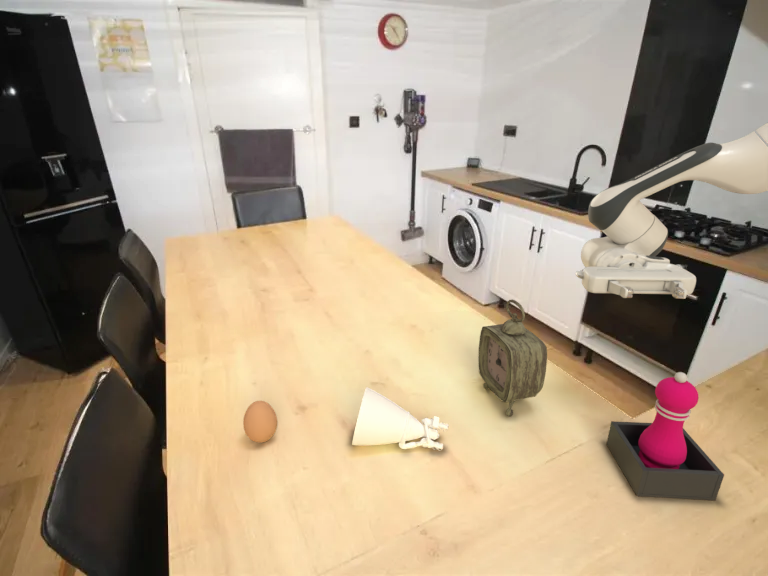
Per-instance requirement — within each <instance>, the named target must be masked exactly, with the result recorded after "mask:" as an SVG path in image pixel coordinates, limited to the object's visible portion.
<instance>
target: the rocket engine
mask: <svg viewBox="0 0 768 576" xmlns="http://www.w3.org/2000/svg"><path fill="white" fill-rule="evenodd" d="M420 421H421V422H420ZM437 429H438V430H437ZM439 430H442V431H443V432H446V431H448V430H449V423H446V422H443V421H440V417H439V416H436V415H434V416H433V417H432V418H429V417H424V418H421V420H419V419H418V418H416V417H415V416H414V415H413V414H411V412H410V411H409V410H406V409H405V408H403V407H401V406H400V405H398V404H397V403H396V402H394V401H393V400H391V399H390V398H388V397H386V396H385V395H383V394H381V393H379V392H378V391H377V390H374V389H372V388H370V387H368V386H366V387H365V389H364V392H363V395H362V399H361V403H360V407H359V411H358V415H357V420H356V423H355V427H354V432H353V436H352V441H351V445H352V446H360V447H361V446H382V445H391V444H397V443H398V447H399V448H400V449H402V450H409V449H414V448H416V447H423V448H428V449H433V451H435V450H438V452H440V451H443V449H444V443H443V442H442V443H440V441H435V440H437V439H439V438H440V433H439ZM420 438H421V439H420ZM418 439H420V441H414V440H418ZM408 441H410V442H408ZM406 442H407V443H406Z"/></svg>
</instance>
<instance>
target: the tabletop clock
mask: <svg viewBox="0 0 768 576" xmlns="http://www.w3.org/2000/svg"><path fill="white" fill-rule="evenodd" d="M510 303H512V304H514V305H516V306H517V307H518V308H519V310H520V312H521V315H522V318H518V313H516V312H513V313H512V312H511V311H510V308H509V304H510ZM505 308H506V309H505V310H506V312H507V314H508V315H509V317H510V318H509V319H507V320H505V322H504V323H500V324H499V323H498V324H492V325H485V326H482V327H481V330H480V334H479V342H478V358H477V359H478V373H479V375H480V377H481V379H482V381H483V382H484V383H483V384H482V386H483V389H485V390H488V389H489V390H490V391H491V392H492V393H493V394H494V395H495V396H496V397H497V398H498V399H499V400H500V401H502V402H504V403H507V402H509V406H508V408H507V409H505V415H506V416H508V417H512V416H513V415H514V410H513V405H514V402H515V401H519V400H525V399H530V398H534V397H537V395H538V394H539V393H540V392H541V391H542V389H543V387H544V384H545V379H546V374H547V373H546V372H547V364H548V347H547V345H546V343H545V342H544V341H543V340H542V339H541V338H540V337H539V336H537V335H536V334H534V332H532V331H530V330H529V329H527V328H526V327H525V324H524V323H523V322H524V321H525V318H526V313H525V309H524V307H523V306H522V305H521V303H520V302H518V301H517V300H515V299H509V300H507V301H506V304H505Z"/></svg>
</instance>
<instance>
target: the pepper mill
mask: <svg viewBox="0 0 768 576" xmlns="http://www.w3.org/2000/svg"><path fill="white" fill-rule="evenodd" d="M654 394H655V396H656V400H655V404H654V409H655V411H656V413H655V414H656V415H655V417H654V420H653V421H652V422H651V423H652V424H651V425H650V426H649V427H647V428H646V429H645V430H644V431H643V433H642V434H641V435H640V438H639V441H638V445H639V448H640V451H639V454H638V456H639V458H640V459H641V461H642V462H643V464H644V465H645V467H646V468H665V469H679V465H680V464H682V463H683V462H684V461H685V459H686V455H687V447H686V442H685V439H684V435H683V429H684V423H685V421H687V420H689V419H690V417H691V416H690V415H691V413H692V409H694V408H695V407H696V406H697V405H698V402H699V398H700V397H699V392H698V389H697V388H696V387H695V385H693V384H692V383H691V382H690V381H688V375H687V374H686V373H685V372H682V371H678V372H676V373H675V374H674V375H673V376H668V377H665V378H662V379H661V380H659V382H658V383H657V384H656V387H655V389H654Z"/></svg>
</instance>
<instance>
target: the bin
mask: <svg viewBox="0 0 768 576" xmlns="http://www.w3.org/2000/svg"><path fill="white" fill-rule="evenodd" d="M652 423H653V422H635V421H634V422H633V421H615V420H614V421H610V425H609V430H608V435H607V439H606V446H607V448H608V450H609V452H610V453H611V455H612V456H613V458H614V460H615V461H616V463H617V465H618V467H619V469H620V470H621V473H623V475H624V477H625V479H626V480H627V483H628V484H629V485H630V488H631V489H632V491H633V493H634V494H635V495H636V497H645V498H646V497H647V498H662V499H679V500H680V499H682V500H696V501H697V500H698V501H699V500H700V501H717V497H718V494H719V492H720V488H721V487H722V483H723V479H724V477H725V474H724V472H722V470H721V469H720V468H719V467H718V466H717V464H715V462H714V461H713V460H712V459H711V458H710V456H708V455H707V453H706V452H705V451H704V450H703V449H702V448H701V447H700V446H699V445H698V443H697V442H696V441H695V440H694V439H693V438H692V436H691V435H690V434H689V433H688V432H687V431H686V429H684V428H683V435H684V439H685V442H686V447H687V455H686V459H685V461H684V462H683V463H682V464H680V465H679V469H665V468H646V467H645V465H644V464H643V462H642V461H641V459H640V458H639V456H638V454H639V451H640V448H639V445H638V441H639V438H640V435H641V434H642V433H643V431H644V430H645V429H646V428H647V427H649V426H650V425H651V424H652Z"/></svg>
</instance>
